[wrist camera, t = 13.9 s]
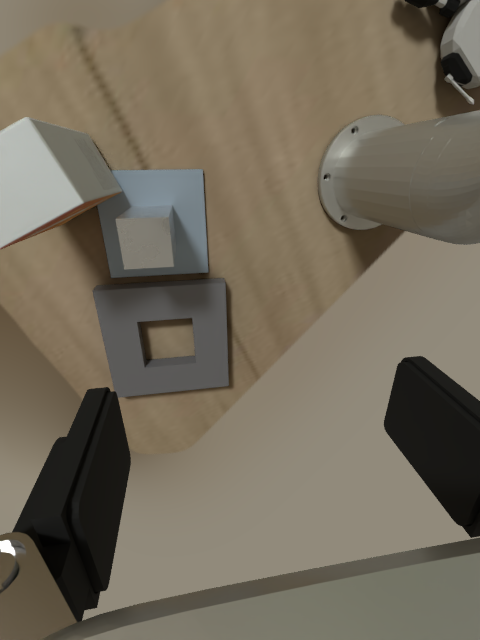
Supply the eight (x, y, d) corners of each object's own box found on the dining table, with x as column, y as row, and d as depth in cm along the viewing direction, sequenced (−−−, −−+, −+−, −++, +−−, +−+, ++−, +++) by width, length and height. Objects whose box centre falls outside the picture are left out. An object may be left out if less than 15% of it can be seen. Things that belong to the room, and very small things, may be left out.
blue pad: (202, 169, 36) (202, 169, 36) (208, 271, 42) (208, 272, 41) (91, 170, 35) (90, 170, 34) (111, 276, 40) (111, 277, 40)
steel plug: (172, 205, 37) (168, 216, 28) (176, 244, 39) (173, 266, 30) (132, 206, 37) (115, 218, 28) (138, 245, 38) (124, 269, 30)
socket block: (223, 278, 42) (225, 282, 40) (227, 378, 49) (228, 385, 47) (96, 285, 40) (92, 290, 38) (118, 388, 47) (116, 397, 45)
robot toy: (372, 1, 33) (450, 116, 38) (396, -25, 29) (480, 107, 34) (470, -120, 30) (540, 20, 35) (512, -169, 26) (585, -2, 31)
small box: (64, 225, 36) (-4, 252, 25) (24, 169, 34) (-73, 170, 22) (125, 191, 36) (85, 203, 24) (89, 131, 33) (24, 112, 21)
